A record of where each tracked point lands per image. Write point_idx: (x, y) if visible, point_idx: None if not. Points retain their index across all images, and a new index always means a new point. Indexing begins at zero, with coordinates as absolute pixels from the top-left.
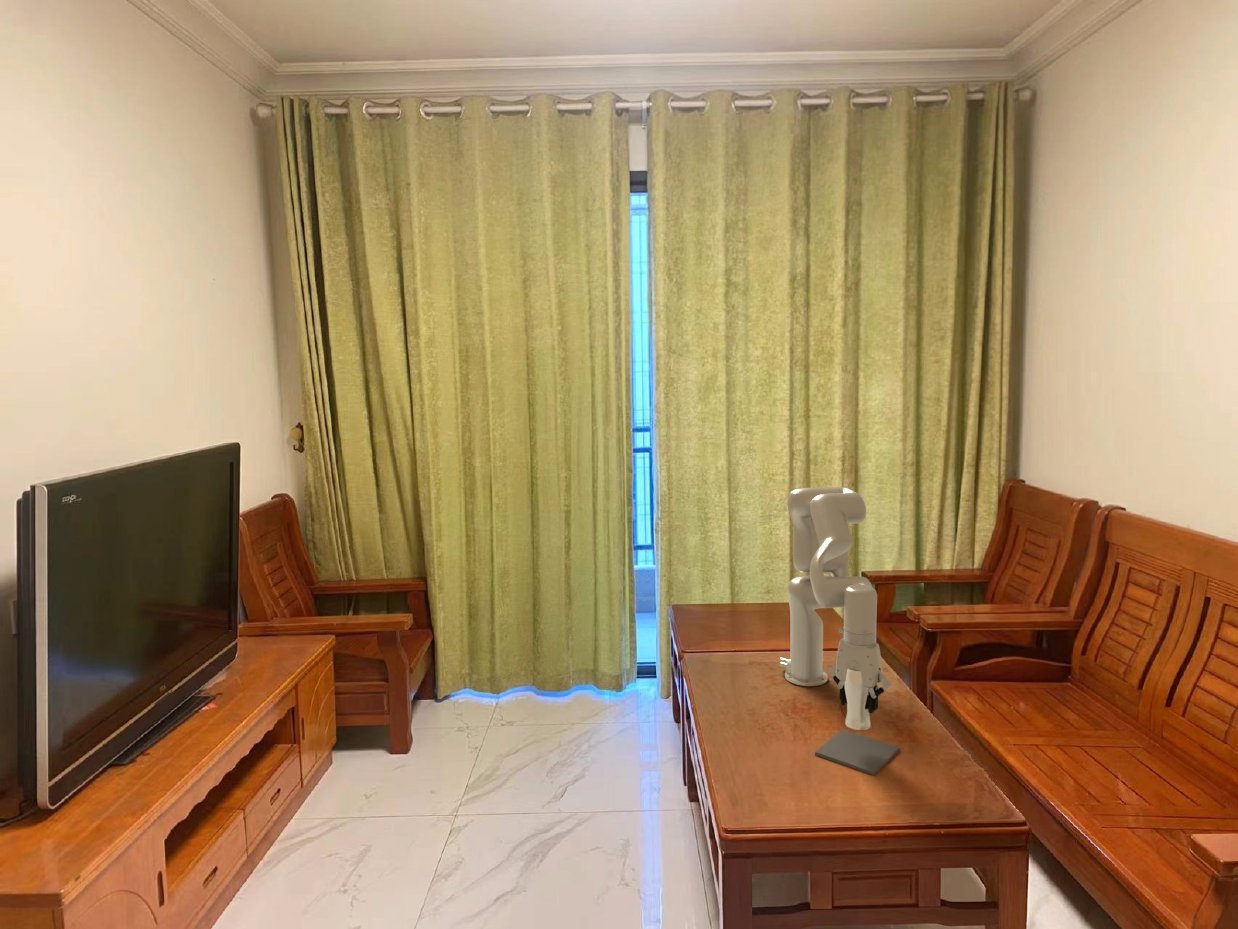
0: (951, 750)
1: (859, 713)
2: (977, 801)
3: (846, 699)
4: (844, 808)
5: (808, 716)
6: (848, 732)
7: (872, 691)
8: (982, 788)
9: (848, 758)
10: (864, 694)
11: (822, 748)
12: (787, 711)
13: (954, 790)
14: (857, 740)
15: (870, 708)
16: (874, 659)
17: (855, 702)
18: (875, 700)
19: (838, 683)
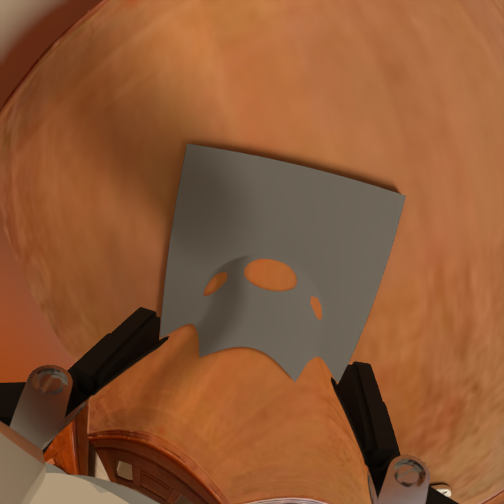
0: None
1: (221, 301)
2: (8, 170)
3: (331, 375)
4: None
5: (429, 407)
6: None
7: (29, 410)
8: (8, 226)
9: (287, 195)
10: (100, 388)
11: (387, 230)
12: (472, 401)
13: (33, 187)
14: None
15: (127, 322)
16: None
17: (228, 330)
18: (71, 367)
19: (421, 496)
